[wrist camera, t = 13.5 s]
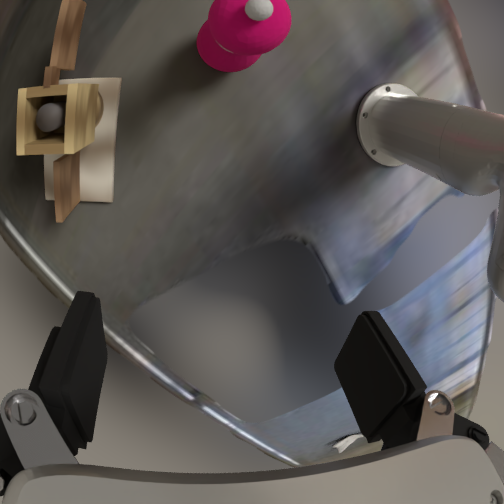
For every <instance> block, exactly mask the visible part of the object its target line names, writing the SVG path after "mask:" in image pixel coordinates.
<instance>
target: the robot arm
mask: <svg viewBox="0 0 504 504" xmlns="http://www.w3.org/2000/svg"><path fill="white" fill-rule="evenodd" d="M356 127H357V134H358V138H359V141H360V143H361V146H362V148H363V149H364V151H365V152H366V153H367V154H368V155H369V156H370V157H371V158H372V159H373V160H375V161H376V162H378V163H380V164H382V165H386V166H400V165H403V164H407V165H410V166H412V167H414V168H416V169H418V170H420V171H422V172H424V173H426V174H428V175H430V176H432V177H434V178H436V179H438V180H440V181H442V182H444V183H446V184H448V185H449V186H451V187H453V188H455V189H457V190H459V191H461V192H463V193H465V194H468V195H472V196H481V195H486V194H489V193H492V192H494V191H497V190H498V189H500V200H499V207H498V210H499V211H498V217H497V222H496V227H495V232H494V236H493V241H492V245H491V250H490V254H489V259H488V265H487V277H488V282H489V285H490V287H491V289H492V290H493V292H494V293H495V295H496V296H497V297H498V298H499V299H500V300H502V301H503V302H504V115H501V114H496V113H492V112H488V111H484V110H480V109H476V108H472V107H467V106H463V105H459V104H454V103H449V102H444V101H439V100H434V99H428V98H422V97H418V96H417V95H416V93H414V92H413V91H412V90H411V89H410V88H408V87H406V86H404V85H401V84H397V83H384V84H381V85H378V86H376V87H375V88H373V89H372V90H370V91H369V92H368V93H367V94H366V96H365V97H364V98H363V100H362V102H361V104H360V106H359V109H358V113H357V121H356ZM371 151H372V152H371ZM106 364H107V348H106V342H105V335H104V328H103V321H102V313H101V305H100V299H99V298H96V297H95V295H94V293H91V292H83V291H77V293H76V295H75V297H74V299H73V301H72V304H71V306H70V308H69V310H68V313H67V315H66V317H65V319H64V322H63V324H62V327H54V328H53V329H52V331H51V333H50V335H49V337H48V340H47V342H46V344H45V347H44V349H43V352H42V354H41V357H40V359H39V362H38V364H37V367H36V370H35V372H34V375H33V378H32V380H31V383H30V386H29V389H28V390H27V389H17V390H13V391H12V392H10V393H8V394H7V395H6V396H5V397H4V398H3V400H2V403H1V407H0V496H3V495H4V497H3V501H2V504H504V451H503V450H502V449H500V448H499V447H498V446H497V445H496V444H494V443H493V442H492V441H491V443H489V436H488V434H487V432H486V430H485V429H484V428H483V427H481V426H480V425H478V424H476V423H474V422H472V421H470V420H468V419H466V418H464V417H462V416H460V415H458V414H456V413H454V411H455V410H454V404H453V402H452V400H451V399H450V397H449V396H447V395H446V394H445V393H443V392H441V391H438V390H431V391H429V392H428V393H427V394H425V392H424V391H425V389H426V388H427V386H426V384H425V383H424V381H423V379H422V378H421V376H420V374H419V373H418V371H417V370H416V368H415V366H414V365H413V363H412V362H411V360H410V359H409V357H408V355H407V354H406V352H405V351H404V349H403V348H402V346H401V345H400V343H399V342H398V340H397V338H396V337H395V335H394V334H393V332H392V331H391V329H390V328H389V326H388V325H387V323H386V322H385V320H384V319H383V317H382V316H381V314H380V313H379V312H377V311H364V312H362V314H361V315H359V316H358V317H357V319H356V322H355V323H354V325H353V327H352V329H351V331H350V334H349V335H348V338H347V339H346V342H345V343H344V345H343V347H342V349H341V351H340V353H339V355H338V357H337V359H336V361H335V364H334V368H335V372H336V374H337V376H338V379H339V381H340V383H341V386H342V388H343V390H344V393H345V395H346V397H347V400H348V402H349V404H350V407H351V409H352V411H353V414H354V416H355V419H356V421H357V423H358V426H359V428H360V431H361V433H362V435H363V436H364V437H366V438H367V441H368V443H372V442H376V441H380V440H381V439H382V440H383V445H382V448H381V451H378V452H374V453H370V454H366V455H362V456H357V457H353V458H348V459H343V460H338V461H333V462H328V463H322V464H316V465H310V466H303V467H296V468H288V469H280V470H269V471H257V472H241V473H171V472H155V471H140V470H131V469H122V468H113V467H104V466H95V465H83V464H79V463H78V461H77V460H76V458H75V457H74V456H75V455H77V454H78V448H82V449H86V446H87V442H92V440H93V434H94V427H95V421H96V415H97V409H98V404H99V398H100V393H101V388H102V383H103V378H104V373H105V368H106Z"/></svg>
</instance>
